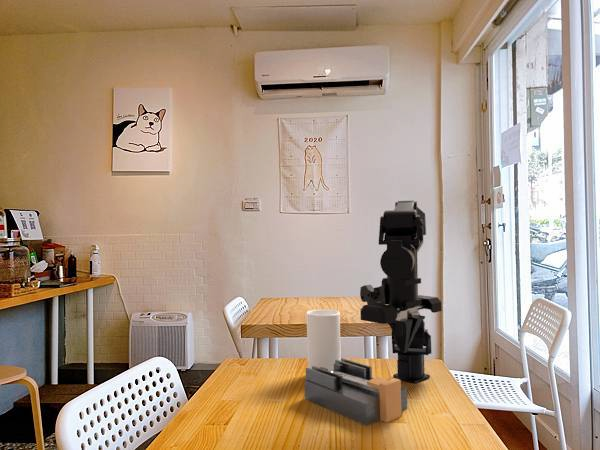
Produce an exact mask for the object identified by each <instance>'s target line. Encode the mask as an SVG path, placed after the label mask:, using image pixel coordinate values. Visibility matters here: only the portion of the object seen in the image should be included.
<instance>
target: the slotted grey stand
mask: <svg viewBox="0 0 600 450" xmlns="http://www.w3.org/2000/svg"><path fill="white" fill-rule="evenodd" d="M372 368H373V367H372V366H370V365H367V364H364V363H359V362H357V361H353V360H351V359H346V358H343V357H342V358H341V361H340V360H335V363H334V370H336V371H338V372H341V373H345V374H348V375H352V376H355V377H359V378H362V379H365V380H372V379H375V377H373V374H372V373H373V370H372ZM303 381H304V399H305V400H307V401H309V402H311V403H313V404H316V405H318V406H320V407H322V408H325V409H327V410H329V411H332V412H334V413H337V414H338V415H341V416H344V417H346V418H347V419H350V420H352V421H354V422H357V423H359V424H362V425H364V426H366V427H367V426H369V425H372V424H374V423H376V422H379V421H381V420H380V390H379V391H376V392H374V391H371V390H367V389H364V388H361V387H358V386H355V385H352V384H348V383H345V382H343V376H342V375H339V374H336V373H333V372H330V371H328V369H326V368H323V367H320V368H318V367H315V366H312V369H310V368H308V367H306V368H305V379H304V380H303ZM407 392H408V391H407V388H406V387H403V386H401V412H402V411H404V410H407V409H408V393H407Z"/></svg>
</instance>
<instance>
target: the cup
mask: <svg viewBox="0 0 600 450" xmlns="http://www.w3.org/2000/svg"><path fill="white" fill-rule="evenodd" d="M340 314H341V313H340V311H339V310H336V309H335V310H334V309H325V308H322V309H311V310H308V311H307V312H306V337H307V339H306V340H307V341H306V344H307V346H306V347H307V348H306V349H307V368H310V369H312V366H315V367H318V368H320V367H323V368H326V369H328V371H333V370H334V363H335V360H340V361H341V356H342V355H341V354H342V352H341V350H342V349H341V319H340V318H341V315H340Z"/></svg>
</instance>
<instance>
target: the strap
mask: <svg viewBox="0 0 600 450" xmlns="http://www.w3.org/2000/svg"><path fill="white" fill-rule="evenodd" d="M330 372H333V373H336V374H339V375H342V376H343V382H345V383H348V384H352V385H355V386H358V387H361V388H364V389H367V390H371V391H374V392H376V391H379V390H380V389H378V388H375V387H372V386H369V385H367V381H369V380H365V379H362V378H359V377H355V376H352V375H348V374H345V373H341V372H338V371H336V370H333V371H330Z"/></svg>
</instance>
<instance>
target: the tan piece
mask: <svg viewBox="0 0 600 450" xmlns="http://www.w3.org/2000/svg"><path fill="white" fill-rule="evenodd" d="M374 378H375V377H374ZM401 380H402V379H399V378H396V377H392V378H391V379H386V378H383V377H380V376H378V377H376V378H375V379H372V380H369V381H367V385H369V386H372V387H375V388H378V389H380V420H379V421H382V422H384V423H386V424H387V423H389V422H392V421H393V420H396V419H398V418H401V417H403V416H402V411H401V387H402V384H401V383H402V381H401Z"/></svg>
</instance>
